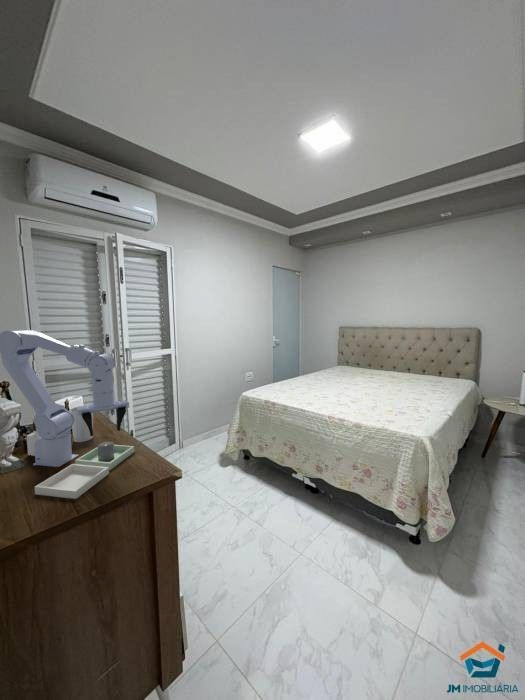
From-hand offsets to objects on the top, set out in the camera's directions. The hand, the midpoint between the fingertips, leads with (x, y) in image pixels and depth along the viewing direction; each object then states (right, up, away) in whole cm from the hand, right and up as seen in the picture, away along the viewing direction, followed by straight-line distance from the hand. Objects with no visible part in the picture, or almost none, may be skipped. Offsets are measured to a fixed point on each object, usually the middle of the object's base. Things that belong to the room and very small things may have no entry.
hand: (105, 432), depth 91 cm
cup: (-18, -8, +17) cm, 26 cm away
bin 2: (0, -9, 0) cm, 9 cm away
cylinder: (0, -9, 0) cm, 9 cm away
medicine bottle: (-24, -9, +6) cm, 27 cm away
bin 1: (-1, -11, -14) cm, 17 cm away
